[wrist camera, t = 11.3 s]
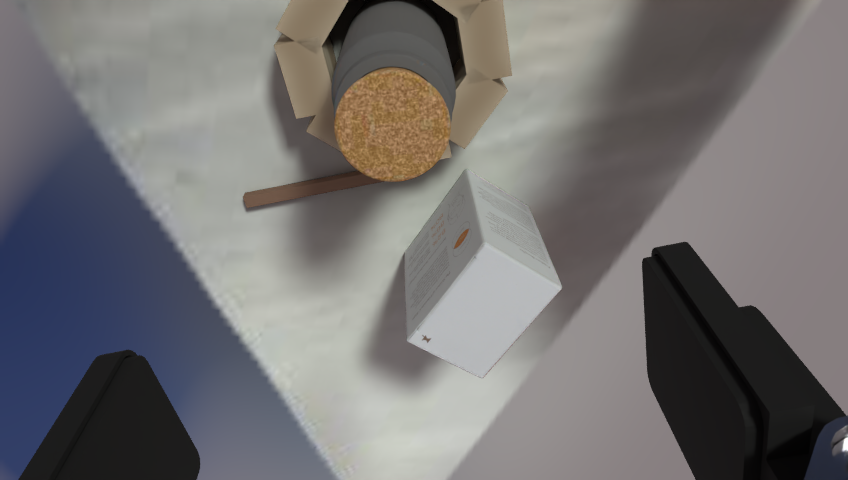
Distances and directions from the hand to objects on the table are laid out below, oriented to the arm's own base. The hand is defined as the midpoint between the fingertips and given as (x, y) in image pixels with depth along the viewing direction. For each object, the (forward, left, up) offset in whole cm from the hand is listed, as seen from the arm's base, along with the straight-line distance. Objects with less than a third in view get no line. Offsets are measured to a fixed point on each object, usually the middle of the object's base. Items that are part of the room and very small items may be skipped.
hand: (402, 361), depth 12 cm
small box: (-2, +14, -31) cm, 34 cm away
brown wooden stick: (+7, +9, -30) cm, 32 cm away
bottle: (0, +1, -31) cm, 31 cm away
